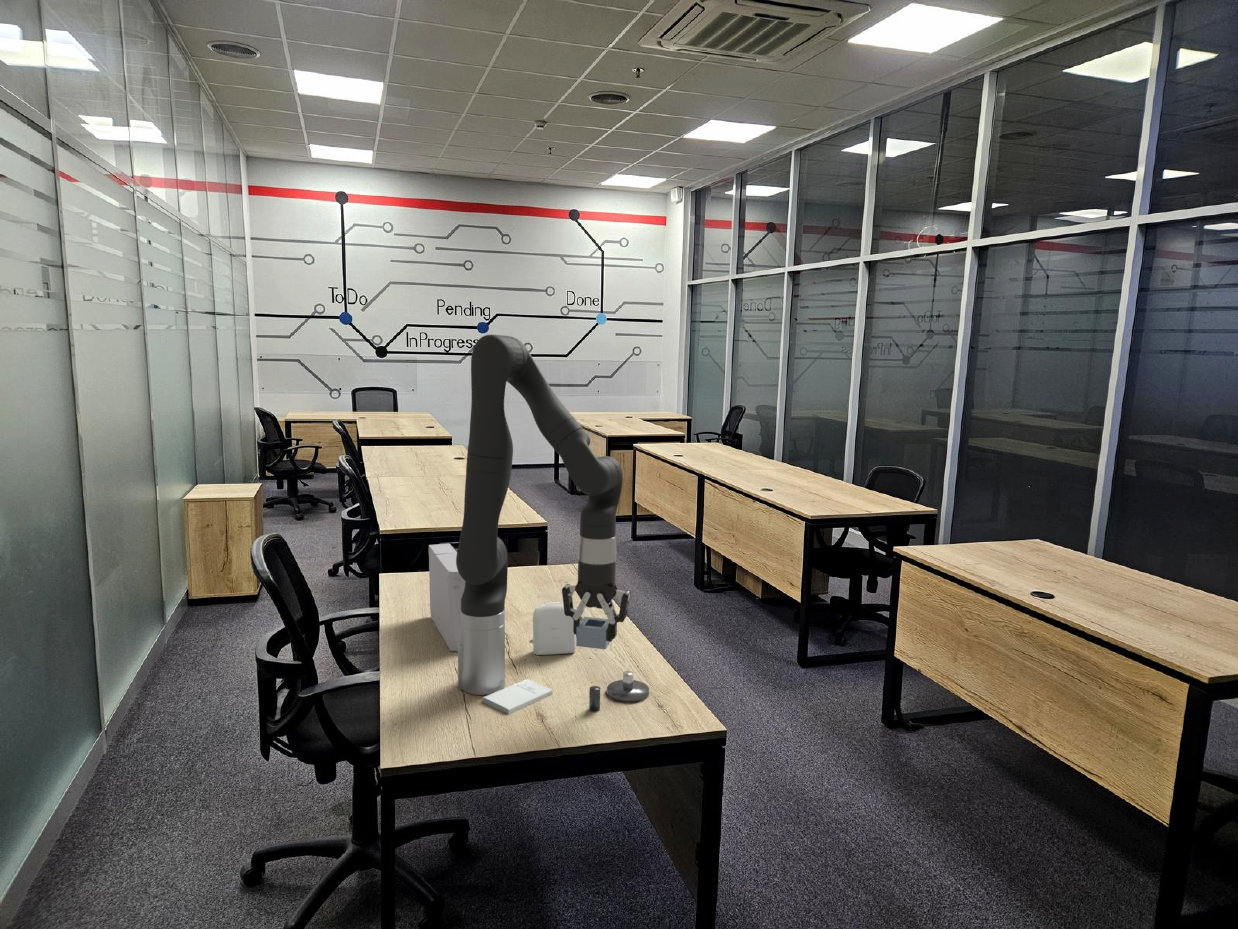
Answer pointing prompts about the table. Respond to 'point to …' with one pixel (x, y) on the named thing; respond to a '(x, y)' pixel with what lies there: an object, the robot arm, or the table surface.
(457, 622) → the game console
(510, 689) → the external hard drive
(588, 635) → the hollow square housing
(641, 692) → the hub
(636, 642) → the table surface
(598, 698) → the stand rod
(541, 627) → the photo printer
